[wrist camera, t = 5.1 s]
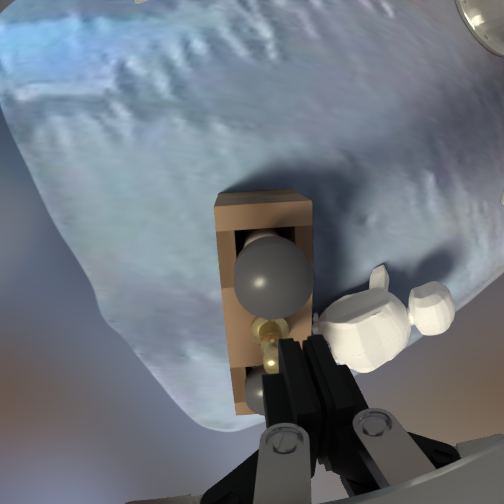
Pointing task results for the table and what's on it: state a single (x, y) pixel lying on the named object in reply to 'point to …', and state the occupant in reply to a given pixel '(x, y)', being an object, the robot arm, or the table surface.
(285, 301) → the knob
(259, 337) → the brass door knob
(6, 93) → the table surface
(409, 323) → the white piece
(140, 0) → the alarm clock
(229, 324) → the walnut mount
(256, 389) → the dark grey rounded lump
